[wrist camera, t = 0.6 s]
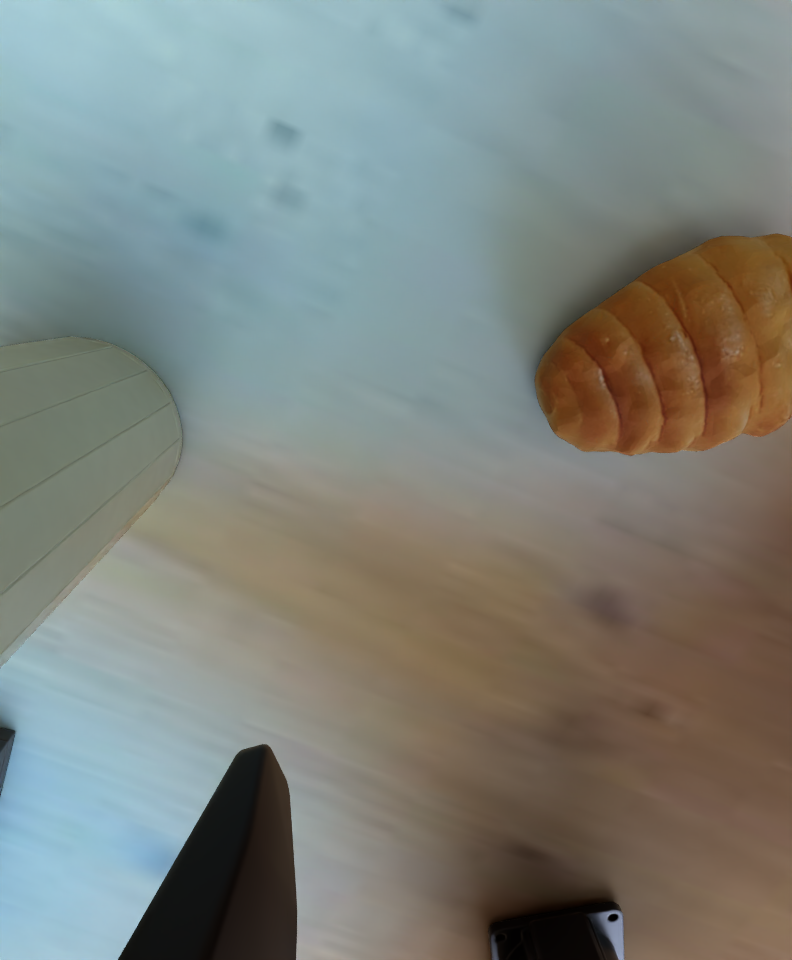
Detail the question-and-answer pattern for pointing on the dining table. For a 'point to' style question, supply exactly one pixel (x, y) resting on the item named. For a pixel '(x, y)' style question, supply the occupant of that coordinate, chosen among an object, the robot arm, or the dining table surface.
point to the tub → (5, 751)
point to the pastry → (679, 354)
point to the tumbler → (73, 467)
